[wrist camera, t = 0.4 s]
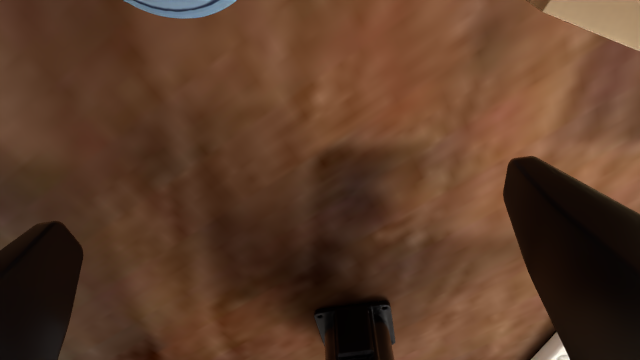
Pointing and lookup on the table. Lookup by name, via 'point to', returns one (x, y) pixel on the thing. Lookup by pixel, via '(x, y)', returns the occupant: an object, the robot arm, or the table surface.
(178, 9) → the shoe
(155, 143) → the table surface
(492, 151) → the table surface
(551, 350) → the calculator
